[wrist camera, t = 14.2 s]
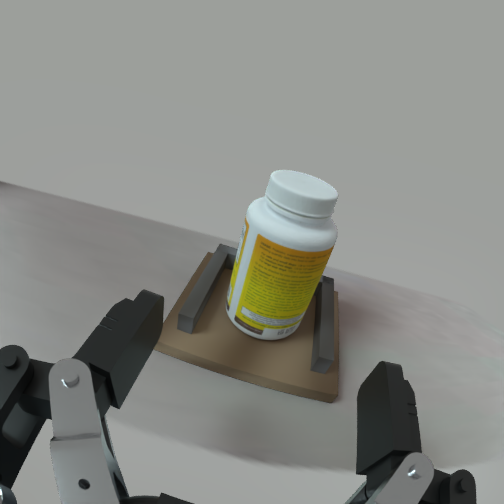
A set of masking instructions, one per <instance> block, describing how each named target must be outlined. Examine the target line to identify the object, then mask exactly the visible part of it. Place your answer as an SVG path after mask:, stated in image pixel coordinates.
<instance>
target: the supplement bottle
mask: <svg viewBox="0 0 504 504" xmlns="http://www.w3.org/2000/svg"><path fill="white" fill-rule="evenodd" d="M337 198H338V193H337V191H336V190H335V189H334V188H333V187H332V186H331V185H329V184H328V183H327V182H325V181H323V180H321V179H319V178H316V177H314V176H311V175H308V174H305V173H301V172H297V171H291V170H278V171H275V172H273V173H272V174H271V176H270V180H269V184H268V187H267V189H266V194H265V197H261V198H258V199H256V200H255V201H253V202H252V203H251V204H250V206H249V207H248V210H247V213H246V217H245V221H244V225H243V230H242V234H241V238H240V242H239V246H238V250H237V255H236V259H235V263H234V268H233V272H232V276H231V281H230V285H229V290H228V294H227V299H226V310H227V314H228V316H229V318H230V320H231V321H232V322H233V324H234V325H235V326H236V327H237V328H238V329H240V330H241V331H243V332H244V333H246V334H248V335H250V336H252V337H255V338H258V339H264V340H277V339H281V338H285V337H287V336H289V335H290V334H292V333H293V332H294V331H295V330H296V329H297V328H298V326H299V325H300V323H301V321H302V318H303V316H304V314H305V312H306V310H307V308H308V305H309V303H310V301H311V299H312V296H313V294H314V292H315V289H316V287H317V285H318V283H319V280H320V278H321V276H322V274H323V271H324V269H325V267H326V264H327V262H328V259H329V257H330V255H331V252H332V250H333V247H334V245H335V242H336V239H337V233H338V232H337V228H336V225H335V223H334V222H333V220H332V219H331V215H332V214H333V212H334V207H335V204H336V201H337Z"/></svg>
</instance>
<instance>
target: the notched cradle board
mask: <svg viewBox="0 0 504 504" xmlns="http://www.w3.org/2000/svg"><path fill="white" fill-rule="evenodd" d="M237 250H238V249H235V248H232V247H229V246H226V245H223V244H220V245H219V246H218V248H217V250H216V251H215V253H214V254H213V253H210V252H208V253H207V255H206V256H205V258H204V259H203V261H202V262H201V264H200V265H199V267H198V269H197V270H196V272H195V273H194V275H193V277H192V278H191V280H190V281H189V283H188V284H187V286H186V288H185V289H184V291H183V292H182V294H181V296H180V297H179V299H178V300H177V302H176V304H175V305H174V307H173V309H172V310H171V312H170V313H169V315H168V317H167V318H166V320H165V322H164V323H163V328H162V332H161V335H160V338H159V340H158V342H157V344H156V345H155V347H154V350H157V351H159V352H162V353H165V354H167V355H170V356H172V357H175V358H178V359H180V360H183V361H186V362H188V363H191V364H194V365H197V366H200V367H203V368H205V369H208V370H211V371H214V372H217V373H220V374H223V375H227V376H230V377H233V378H236V379H239V380H243V381H246V382H249V383H253V384H256V385H260V386H263V387H267V388H270V389H274V390H278V391H282V392H286V393H289V394H293V395H298V396H302V397H306V398H310V399H315V400H319V401H324V402H328V403H332V402H333V401H334V399H335V398H336V397H337V396H338V369H339V320H338V292H336V291H334V279H333V278H329V277H326V276H323V275H322V276H321V278H320V280H319V283H318V285H317V287H316V289H315V292H314V294H313V296H312V299H311V301H310V303H309V305H308V308H307V310H306V312H305V314H304V316H303V318H302V321H301V323H300V325H299V326H298V328H297V329H296V330H295V331H294V332H293V333H292V334H290V335H289V336H287V337H285V338H281V339H277V340H264V339H258V338H255V337H252V336H250V335H248V334H246V333H244V332H243V331H241V330H240V329H238V328H237V327H236V326H235V325H234V324H233V322H232V321H231V320H230V318H229V316H228V314H227V310H226V299H227V294H228V290H229V285H230V281H231V276H232V272H233V268H234V263H235V259H236V255H237Z"/></svg>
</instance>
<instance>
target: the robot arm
mask: <svg viewBox="0 0 504 504" xmlns="http://www.w3.org/2000/svg"><path fill="white" fill-rule="evenodd" d="M163 310H164V297H163V296H161V295H158V294H155V293H152V292H150V291H147V290H142V291H141V292H140V293H139V294H138V296H137V297H136V298H135V300H134V301H132V300H130V299H127V298H126V299H124V300H122V301H120V302H119V303H117V304H115V305H114V306H113V307H112V308H111V309H110V311H109V312H108V313H107V314H106V317H104V318H103V319H102V321H101V322H100V324H99V325H98V326H97V327H96V328H95V330H94V331H93V332H92V333H91V335H90V336H89V337H88V339H87V340H86V341H85V343H84V344H83V345H82V347H81V348H80V349H79V350H78V352H77V353H76V354H75V355H74V356H73V357H72V358H68V359H63V360H61V361H59V362H57V363H56V364H53V363H47V362H42V361H38V360H34V359H30V358H29V356H28V354H27V352H26V351H25V350H24V349H23V348H22V347H20V346H17V345H8V346H5V347H3V348H1V349H0V504H17V501H16V498H15V496H14V493H13V492H12V490H11V488H12V486H13V483H14V482H15V480H16V477H17V475H18V473H19V471H20V469H21V467H22V465H23V463H24V461H25V459H26V457H27V455H28V452H29V451H30V449H31V447H32V445H33V443H34V441H35V439H36V437H37V435H38V434H39V432H40V430H41V428H42V426H43V424H44V423H45V421H46V419H51V420H52V424H53V433H54V436H53V438H52V439H51V441H50V450H51V456H52V463H53V468H54V473H55V478H56V483H57V487H58V492H59V495H60V500H61V504H193V503H190V502H187V501H184V500H181V499H178V498H175V497H172V496H169V495H167V494H164V493H161V495H160V497H157V496H134V497H129V494H128V492H127V489H126V486H125V483H124V480H123V477H122V474H121V471H120V468H119V466H118V463H117V460H116V457H115V453H114V450H113V446H112V442H111V438H110V434H109V429H108V425H107V421H106V416H105V414H106V412H107V410H108V409H109V407H110V405H111V406H113V407H115V408H117V409H120V407H121V405H122V404H123V402H124V400H125V398H126V396H127V395H128V393H129V391H130V389H131V388H132V386H133V384H134V382H135V380H136V379H137V377H138V375H139V373H140V372H141V370H142V368H143V366H144V365H145V363H146V361H147V359H148V358H149V356H150V354H151V352H152V351H153V349H154V347H155V345H156V344H157V342H158V340H159V338H160V335H161V332H162V328H163ZM415 405H416V402H415V395H414V391H413V389H412V387H411V385H410V384H409V382H408V380H404V377H403V371H402V367H401V365H399V364H394V363H389V362H385V361H381V362H379V363H378V365H377V366H376V367H375V368H374V370H373V371H372V372H371V373H370V375H369V376H368V377H367V378H366V380H365V381H364V382H363V383H362V385H361V387H360V389H359V392H358V396H357V464H356V474H358V475H367V481H365V482H364V483H363V484H362V485H361V486H360V487H359V488H358V490H357V491H356V492H355V493H354V494H353V495H352V496H351V497H350V498H349V500H348V501H347V502H346V503H345V504H476V485H475V480H474V477H473V476H472V474H471V473H470V472H469V471H467V470H463V469H462V470H458V471H456V472H455V473H453V474H451V475H450V474H447V473H444V472H442V471H439V470H436V469H434V467H433V464H432V462H431V460H430V459H429V458H428V457H427V456H426V455H424V454H422V450H421V440H420V431H419V423H418V416H417V408H416V407H415Z"/></svg>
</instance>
